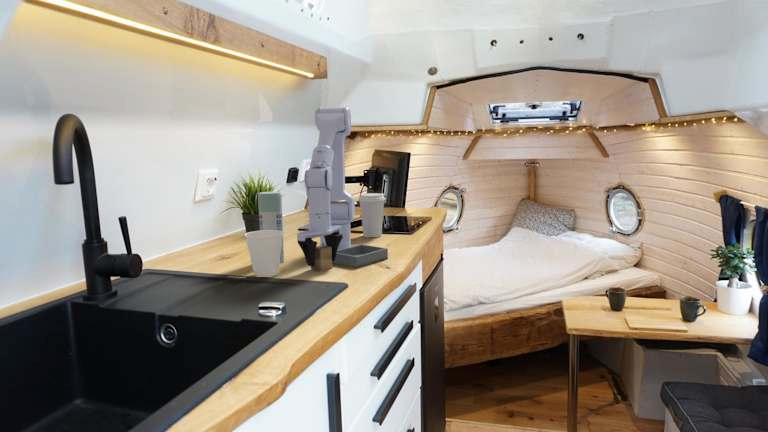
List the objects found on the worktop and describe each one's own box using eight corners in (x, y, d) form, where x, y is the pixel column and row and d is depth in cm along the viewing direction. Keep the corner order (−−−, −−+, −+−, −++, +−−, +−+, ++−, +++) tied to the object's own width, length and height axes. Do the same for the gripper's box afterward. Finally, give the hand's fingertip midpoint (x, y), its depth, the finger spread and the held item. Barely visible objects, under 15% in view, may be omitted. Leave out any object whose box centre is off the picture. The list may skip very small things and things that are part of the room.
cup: (292, 271, 136) (291, 230, 134) (272, 281, 126) (270, 238, 125) (260, 269, 139) (258, 229, 137) (238, 278, 130) (236, 236, 128)
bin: (330, 262, 145) (330, 252, 144) (361, 253, 155) (361, 244, 154) (357, 267, 138) (356, 257, 138) (387, 258, 148) (387, 248, 148)
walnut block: (311, 269, 138) (310, 247, 137) (321, 266, 141) (321, 245, 140) (321, 271, 135) (320, 249, 134) (332, 268, 138) (331, 246, 137)
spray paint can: (282, 264, 143) (279, 193, 140) (259, 265, 143) (255, 194, 140) (285, 259, 150) (282, 191, 147) (263, 259, 150) (260, 191, 146)
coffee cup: (356, 238, 179) (355, 195, 177) (362, 233, 188) (361, 192, 186) (383, 238, 178) (382, 195, 175) (387, 233, 187) (387, 192, 185)
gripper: (309, 218, 128) (311, 270, 130) (349, 211, 139) (350, 259, 141) (291, 215, 132) (293, 266, 134) (331, 209, 143) (332, 256, 145)
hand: (321, 262), depth 138 cm, fingers open, 7 cm apart
